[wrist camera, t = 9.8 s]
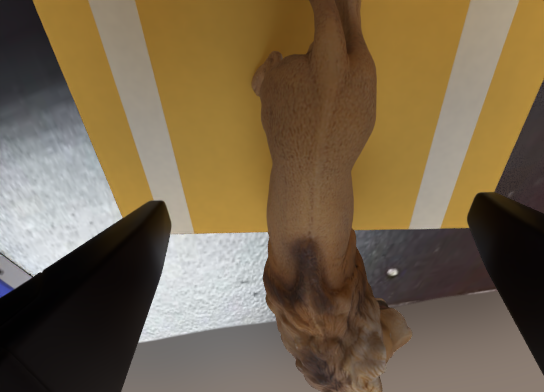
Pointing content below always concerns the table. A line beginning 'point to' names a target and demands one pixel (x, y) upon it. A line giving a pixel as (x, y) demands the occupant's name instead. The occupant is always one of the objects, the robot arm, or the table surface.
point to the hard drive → (10, 276)
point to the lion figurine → (323, 205)
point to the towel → (247, 105)
